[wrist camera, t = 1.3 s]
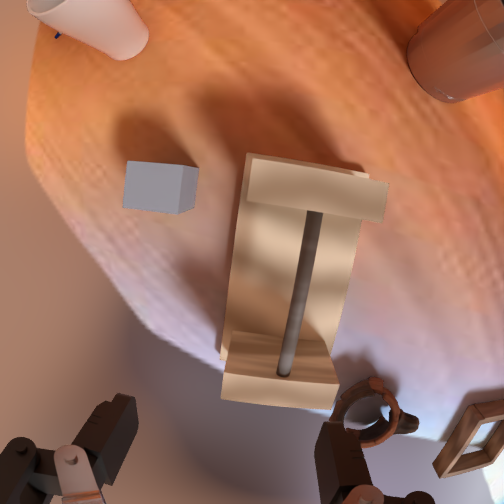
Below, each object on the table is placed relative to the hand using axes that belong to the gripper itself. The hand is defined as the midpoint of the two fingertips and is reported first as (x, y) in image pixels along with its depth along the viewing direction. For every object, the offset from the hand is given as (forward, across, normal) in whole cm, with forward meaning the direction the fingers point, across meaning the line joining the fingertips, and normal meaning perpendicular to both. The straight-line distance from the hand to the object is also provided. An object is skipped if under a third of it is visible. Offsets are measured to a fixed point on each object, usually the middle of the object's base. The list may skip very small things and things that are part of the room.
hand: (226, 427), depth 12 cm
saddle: (+21, +9, -8) cm, 25 cm away
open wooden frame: (+21, -43, +25) cm, 54 cm away
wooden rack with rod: (+21, -4, -1) cm, 22 cm away
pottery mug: (+22, -17, +16) cm, 32 cm away
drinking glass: (+22, +16, -25) cm, 37 cm away
